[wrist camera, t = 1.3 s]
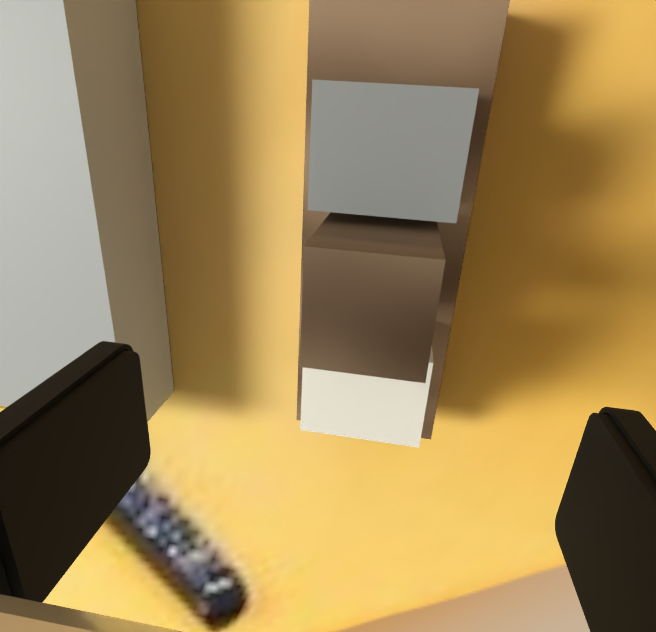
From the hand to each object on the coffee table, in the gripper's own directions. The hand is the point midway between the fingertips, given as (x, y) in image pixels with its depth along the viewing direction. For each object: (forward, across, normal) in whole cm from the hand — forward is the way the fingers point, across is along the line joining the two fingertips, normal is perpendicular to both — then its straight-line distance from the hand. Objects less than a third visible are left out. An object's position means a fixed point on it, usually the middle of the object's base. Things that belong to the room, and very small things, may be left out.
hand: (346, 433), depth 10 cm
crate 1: (+12, 0, -5) cm, 13 cm away
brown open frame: (+15, 0, -1) cm, 15 cm away
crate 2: (+12, 0, +4) cm, 13 cm away
